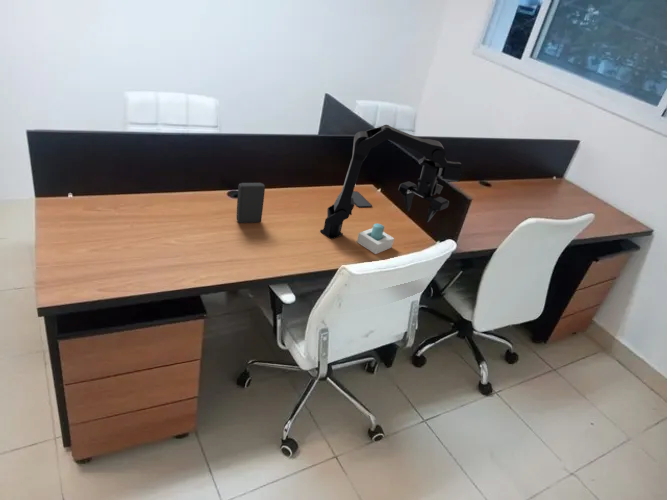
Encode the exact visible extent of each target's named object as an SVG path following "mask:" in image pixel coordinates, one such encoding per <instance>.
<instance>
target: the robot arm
mask: <svg viewBox="0 0 667 500" xmlns="http://www.w3.org/2000/svg"><path fill="white" fill-rule="evenodd" d="M354 134H355V135H354V136H353V146H352V156H351V159H350V163H349V166H348V169H347V172H346V176H345V179H344V183H343V186H342V188H341V191H340V193H339V194H338V196H337V198H336V199H335V200H334V201H335V202H334V203H333V204H332V205H331V206H329V207H328V208H327V211H326V212H327V213H326V215H327V216H326V218H325V219H324V224H323V229H320V231H319V232H320V233H321V234H322V235H324V236H326V237H327V238H329V239H331V240H333V239H336V238H338V237H341V236H342V237H343V235H344V233H343V232H342V228H343V227H342V226H343V222H344V221H345V220H348V219H349V217H350V216H352V214H353V213H352V212H353V209H354V207H355V204H354V198H351V197H352V194H353V191H354V190H355V187H356V184H357V181H358V178H359V174H360V172H361V169H362V167H363V166H362V165H363V162H364V161H365V159H367V157H368V155H369V153H370V152H371V149H373V148H376V147H378V146H379V145H380V144H382V143H384V142H386V141H390V142H393V143H395V144H398V145H399V146H400V145H401V146H403V147H405V148H408V149H410V150H413V151H417V153H420V154H421V155H422V156H423V157H422V158H419V159H418V164H419V166H422V168H421V172H420V177H419V178H417V180H416V182H417V184H416V183H414V182H411V181H405V182H402V183H400V184H399V187H398V191H399V192H400V194H401V195H402V198H403V200H404V206H405V209H406V211H407V212H410V210H411V207H412V203H413V198H415V197H414V196H415V195H417V196H418V197H421V198H422V199H424V200H427V201H428V202H430V205H429V207H428V209H427V210H428V211H427V215H426V222H427V223H429V222H431V219H432V218H433V217H434V215H435V214H436V213H437V212H438V211H439V212H440V211H443V210H445V209H447V208H448V207H449V205H450V201H449V200H448V199H446V198H444V197H442V196H437V197H434V196H435V195H436V194H438V195H440V194H441V192H442V190H443V188H444V186H443V185H441V184H438V183H439V181H438V180H437V179H438V177H440V179H441V180H442V181H449V182H456V183H458V182H459V181H460V179H461V176H462V163H461V162H460V161H452V160H451V161H450V160H447V159H446V149H445V148H444V146H443V144H442V143H441V142H440V141H439V140H434V139H429V138H421V137H417V136H415V135H412V134H410V133H407V132H405V131H402V130H400V129H397V128H395V127H392V126H391V125H389V124H383V125H381V126H378V127H373V128H370V129H366V131H365V130H361V131H358V132H356V133H354Z"/></svg>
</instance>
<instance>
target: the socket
mask: <svg viewBox="0 0 667 500" xmlns="http://www.w3.org/2000/svg"><path fill="white" fill-rule="evenodd" d="M372 229H373V227H372V228H369V229H366V230H364V231H360V232H359V233H358V236H357V240H356V243H358V244H359V245H361V246H362V247H364V248H365V249H367V250H368V251H370V252H371V253H373V254H375V255H377V254H379V253H382V252H384V251H386V250H389V249H391V248H392V247H393V244H394V240H395V238H394V237H393V236H391V235H390V234H387V233H386V232H385V231H383V234H382V238H381V240H379V241H377V240H375V239H373V238H372V237H371V233H372Z"/></svg>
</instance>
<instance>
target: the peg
mask: <svg viewBox="0 0 667 500" xmlns="http://www.w3.org/2000/svg"><path fill="white" fill-rule="evenodd" d="M372 228H373V229H372V233H371V237H372V238H373V239H375V240H377V241H379V240H381V238H382V234H383V232H384V231H385V226H384V225H383V224H381V223H373V226H372Z"/></svg>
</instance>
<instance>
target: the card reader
mask: <svg viewBox="0 0 667 500" xmlns="http://www.w3.org/2000/svg"><path fill="white" fill-rule="evenodd" d="M237 187H238V189H237V200H236V202H237V203H236V222H237V223H240V224H244V223H245V224H246V223H260V222H261V221H262V217H263V208H264V202H265V201H264V200H265V192H266V191H265V189H266V186H265V184H264V183H262V182H241V183H239V184H238V186H237Z"/></svg>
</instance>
